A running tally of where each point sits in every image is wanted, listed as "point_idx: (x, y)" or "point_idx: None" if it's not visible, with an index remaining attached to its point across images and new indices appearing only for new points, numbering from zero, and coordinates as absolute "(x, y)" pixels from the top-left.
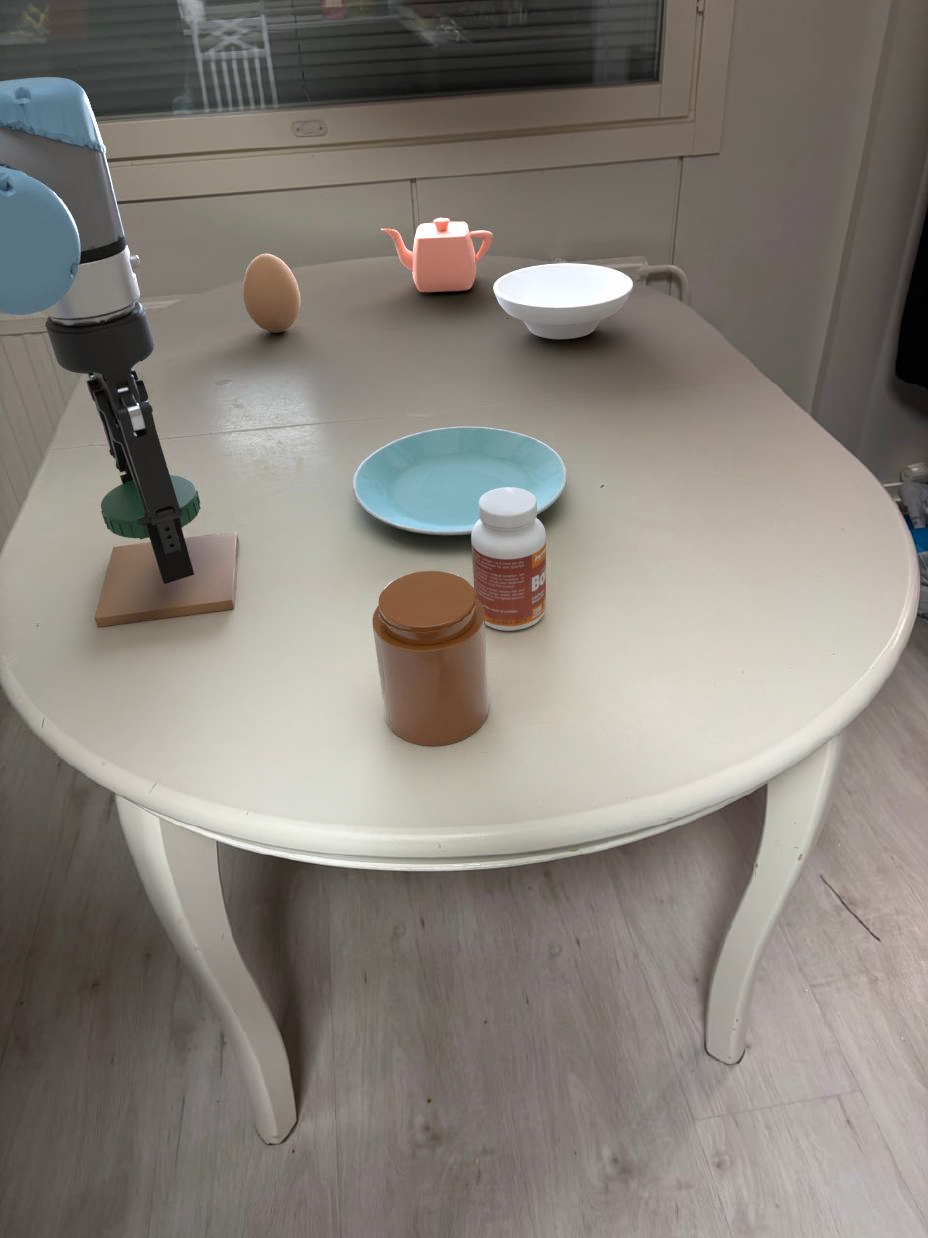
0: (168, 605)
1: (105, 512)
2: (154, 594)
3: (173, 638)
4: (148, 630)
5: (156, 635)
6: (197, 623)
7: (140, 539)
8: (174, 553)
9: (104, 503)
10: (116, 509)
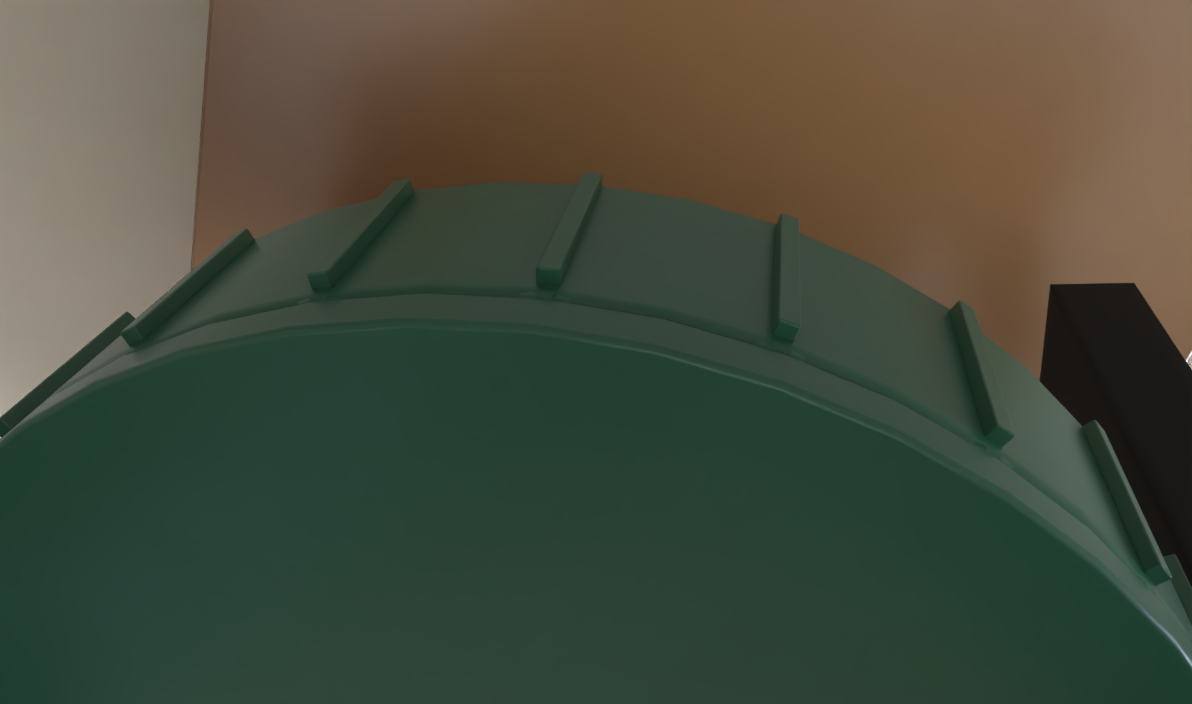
0: (231, 218)
1: (253, 361)
2: (407, 161)
3: (9, 146)
4: (132, 16)
5: (63, 55)
6: (126, 304)
7: (1050, 285)
8: None
9: (640, 413)
10: (313, 530)
